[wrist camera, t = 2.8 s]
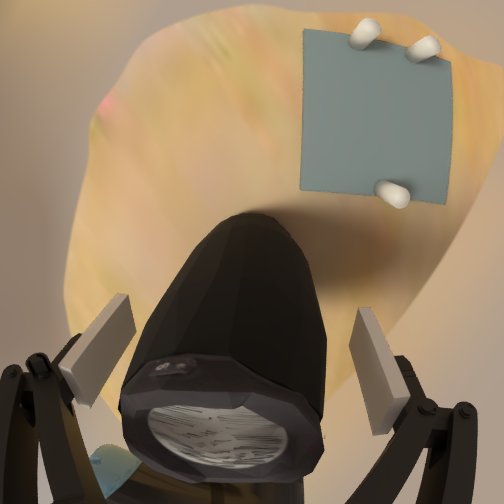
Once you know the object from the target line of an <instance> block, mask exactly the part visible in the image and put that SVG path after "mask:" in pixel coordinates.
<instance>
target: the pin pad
mask: <svg viewBox="0 0 504 504" xmlns="http://www.w3.org/2000/svg"><path fill="white" fill-rule="evenodd" d="M381 31H382V29H381V26H380V24H379V23H378V22H377V21H376V20H374V19H371V18H365V19H363V20H362V21H361V22H360V23H359V25H358V26H357V27H356V28H355V30H354V31H353V32H352V33H351V35H349V34H343V33H337V32H329V31H321V30H312V29H304V31H303V111H302V145H301V169H300V190H301V191H318V192H332V193H345V194H357V195H368V196H377V197H379V198H381V199H382V200H384V201H386V202H387V203H389V204H391V205H392V206H394V207H396V208H398V209H403V208H405V207H406V206H407V205H408V204H409V201H410V200H414V201H422V202H430V203H437V204H444V205H445V204H446V197H447V189H448V181H449V172H450V161H451V147H452V121H453V100H452V76H451V62H450V61H447V60H444V59H442V58H439V57H436V56H434V55H436V54H438V53H440V52H441V44H440V42H439V41H438V40H437V39H436V38H435V37H433V36H430V35H428V36H426V37H424V38H422V39H421V40H419V41H417V42H416V43H414V44H412V45H411V46H409V47H404V46H400V45H396V44H392V43H388V42H384V41H380V40H375V38H376V37H377V36H379V35H380V34H381Z"/></svg>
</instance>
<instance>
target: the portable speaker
mask: <svg viewBox="0 0 504 504" xmlns="http://www.w3.org/2000/svg"><path fill="white" fill-rule="evenodd" d="M326 354H327V336H326V332H325V328H324V324H323V320H322V316H321V311H320V307H319V303H318V299H317V296H316V292H315V288H314V284H313V280H312V276H311V273H310V269H309V265H308V262H307V260H306V258H305V256H304V254H303V252H302V250H301V249H300V248H299V246H298V245H297V244H296V243H295V241H294V240H293V239H292V238H291V236H290V234H289V233H288V232H287V231H286V230H285V229H284V228H283V227H282V226H281V225H280V224H279V223H278V222H277V221H276V220H275V219H274V218H271V217H268V216H265V215H261V214H243V213H242V214H239V215H235V216H231V217H230V218H228V219H226V220H224V221H222V222H220V223H219V224H218V225H217V226H216V227H215V228H214V229H213V230H212V231H211V232H210V233H209V234H208V235H207V236H206V237H205V238H204V239H203V240H202V241H201V242H200V243H199V244H198V245H197V246H196V247H195V249H194V250H193V252H192V253H191V254H190V256H189V258H188V259H187V261H186V262H185V264H184V265H183V267H182V268H181V270H180V271H179V273H178V274H177V276H176V277H175V279H174V280H173V282H172V283H171V285H170V286H169V288H168V289H167V291H166V292H165V294H164V296H163V297H162V299H161V300H160V302H159V303H158V305H157V307H156V308H155V310H154V311H153V313H152V315H151V316H150V318H149V319H148V321H147V323H146V325H145V327H144V330H143V332H142V334H141V337H140V340H139V342H138V345H137V347H136V350H135V352H134V355H133V358H132V360H131V363H130V366H129V368H128V371H127V374H126V376H125V379H124V382H123V385H122V388H121V393H120V399H119V405H118V410H119V412H120V413H121V416H122V428H123V437H124V439H125V441H126V444H127V446H128V448H129V450H130V452H131V453H132V454H133V455H135V456H136V457H137V458H138V459H140V460H141V461H142V462H144V463H145V464H146V465H148V466H149V467H150V468H152V469H153V470H155V471H158V472H160V473H163V474H165V475H168V476H171V477H173V478H176V479H179V480H182V481H185V482H188V483H199V482H220V483H258V482H275V483H291V482H294V481H296V480H298V479H300V478H302V477H304V476H306V475H308V474H310V473H312V472H313V470H314V468H315V466H316V465H317V463H318V461H319V459H320V458H321V456H322V454H323V452H324V444H323V438H322V432H321V426H320V422H321V420H322V418H323V410H324V395H325V377H326Z"/></svg>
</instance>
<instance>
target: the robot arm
mask: <svg viewBox="0 0 504 504" xmlns="http://www.w3.org/2000/svg"><path fill="white" fill-rule="evenodd" d="M135 333H136V327H135V323H134V319H133V314H132V310H131V305H130V300H129V295H128V294H121V293H117V294H116V295H115V296H114V298H113V299H112V300H111V301H110V302H109V303H108V304H107V306H106V307H105V308H104V309H103V310H102V311H101V313H100V314H99V315H98V316H97V317H96V319H95V320H94V321H93V322H92V323H91V324H90V326H89V327H88V328H87V329H86V331H85V332H84V333H83V334H80V333H78V334H77V335H75V336H74V337H72V338H71V339H70V340H69V342H68V343H67V345H65V347H64V348H63V350H61V352H60V353H59V354H58V355H57V356H56V358H55V359H54V360H53V361H52V363H50V361H49V359H48V357H47V355H46V354H44V353H35V354H33V355H31V356H30V357H28V359H27V360H26V363H25V364H26V367H27V369H28V370H29V372H30V373H27V372H23V370H22V369H21V367H20V366H19V365H15V364H13V365H10V366H8V367H6V369H4V371H3V373H2V376H1V379H0V504H38V489H37V466H38V443H39V442H40V447H41V452H42V457H43V461H44V466H45V470H46V474H47V478H48V482H49V485H50V489H51V493H52V496H53V500H54V501H53V503H52V504H304V485H303V477H302V478H300V479H298V480H296V481H294V482H291V483H275V482H258V483H220V482H199V483H188V482H185V481H182V480H179V479H176V478H173V477H171V476H168V475H165V474H163V473H160V472H158V471H155V470H153V469H152V468H150V467H149V466H148V465H146V464H145V463H144V462H142V461H141V460H140V459H138V458H137V457H136V456H135V455H133V454H132V453H131V452H130V451H128V450H126V449H123V448H121V447H118V446H116V445H112V444H106V445H102V446H100V447H99V448H98V449H96V451H95V452H94V453H93V454H92V455H91V457H90V458H89V457H88V454H87V451H86V448H85V445H84V442H83V439H82V435H81V432H80V429H79V425H78V421H77V418H76V414H75V410H74V406H73V404H72V402H71V401H72V400H73V398H74V397H75V399H76V401H77V403H78V404H79V405H81V406H85V407H87V408H91V407H92V405H93V403H94V402H95V400H96V398H97V396H98V395H99V393H100V391H101V389H102V388H103V386H104V384H105V383H106V381H107V379H108V378H109V376H110V374H111V372H112V371H113V369H114V367H115V366H116V364H117V362H118V361H119V359H120V358H121V356H122V354H123V353H124V351H125V349H126V348H127V346H128V345H129V343H130V341H131V340H132V338H133V336H134V335H135ZM349 348H350V351H351V355H352V358H353V362H354V365H355V369H356V372H357V376H358V379H359V383H360V387H361V390H362V394H363V398H364V402H365V405H366V409H367V413H368V417H369V421H370V425H371V430H372V434H373V435H381V434H388V433H389V431H390V430H391V428H392V427H393V429H394V432H395V434H394V435H393V437H392V438H391V440H390V441H389V442H388V444H387V446H386V448H385V450H384V451H383V453H382V454H381V456H380V457H379V459H378V460H377V462H376V463H375V464H374V466H373V467H372V469H371V470H370V472H369V473H368V474H367V476H366V477H365V478H364V480H363V481H362V483H361V484H360V485H359V486H358V488H357V489H356V490H355V492H354V493H353V494H352V495H351V497H350V498H349V499H348V500H347V502H346V503H345V504H392V503H393V502H394V500H395V499H396V497H397V495H398V494H399V492H400V490H401V489H402V487H403V485H404V484H405V482H406V480H407V479H408V477H409V475H410V473H411V471H412V470H413V468H414V466H415V464H416V462H417V460H418V458H419V456H420V454H421V452H422V450H423V448H428V453H427V458H426V463H425V468H424V473H423V477H422V481H421V485H420V489H419V493H418V497H417V500H416V504H471V503H472V496H473V489H474V481H475V472H476V458H477V435H478V419H477V410H476V408H475V407H474V406H473V405H472V404H471V403H468V402H459V403H457V405H456V406H455V407H454V408H453V409H451V408H440V407H438V405H437V404H436V403H435V402H434V401H433V400H431V399H428V398H426V396H425V394H424V391H423V389H422V387H421V385H420V382H419V380H418V378H417V377H416V374H415V372H414V371H413V368H412V365H411V363H410V362H409V361H408V360H407V359H406V358H405V357H404V356H403V355H401V356H393V354H392V351H391V349H390V347H389V345H388V342H387V340H386V338H385V336H384V334H383V332H382V330H381V327H380V325H379V323H378V321H377V319H376V317H375V315H374V313H373V311H372V309H371V307H358V311H357V315H356V319H355V323H354V327H353V331H352V335H351V339H350V343H349Z"/></svg>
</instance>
